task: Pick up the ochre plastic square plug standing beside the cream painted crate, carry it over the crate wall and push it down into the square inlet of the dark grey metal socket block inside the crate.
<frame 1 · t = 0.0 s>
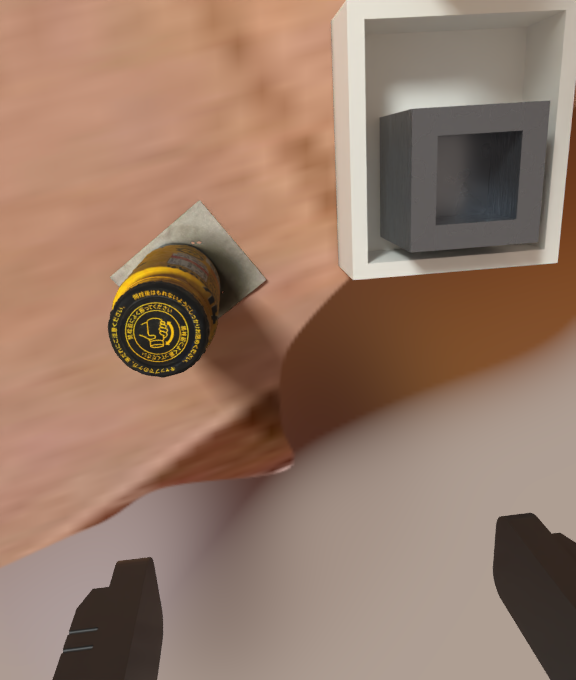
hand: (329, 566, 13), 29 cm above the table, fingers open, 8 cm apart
crate: (433, 145, 38), on the table
socket: (435, 175, 38), resting on crate
condiment: (189, 277, 40), on the table
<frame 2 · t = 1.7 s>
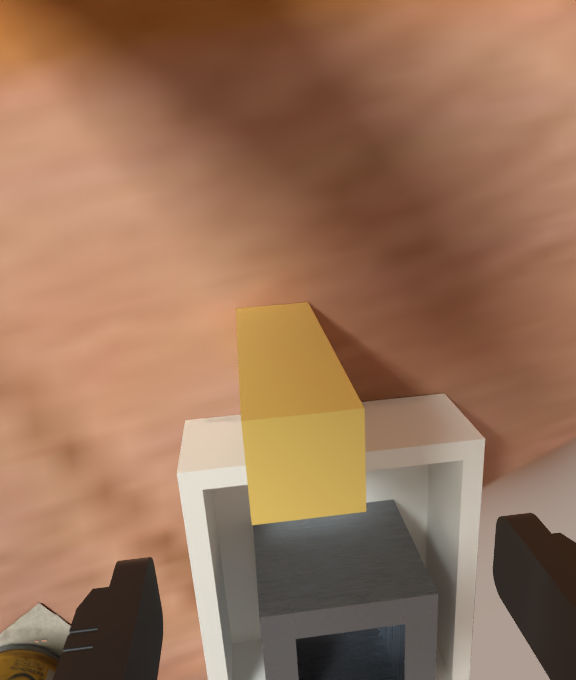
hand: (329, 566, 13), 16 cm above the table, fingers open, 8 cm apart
crate: (323, 530, 32), on the table
socket: (326, 565, 32), resting on crate
condiment: (37, 670, 33), on the table
plug: (274, 339, 28), on the table
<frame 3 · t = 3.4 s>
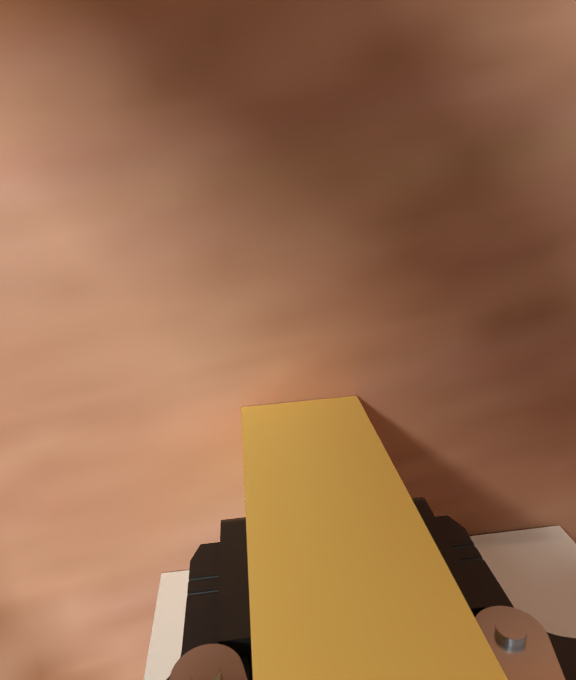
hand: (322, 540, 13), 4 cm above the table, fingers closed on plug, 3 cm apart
plug: (302, 452, 17), on the table, touching gripper
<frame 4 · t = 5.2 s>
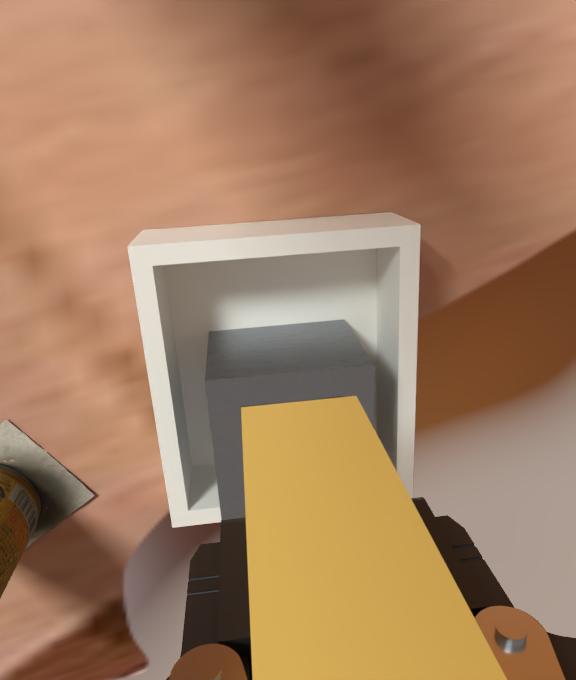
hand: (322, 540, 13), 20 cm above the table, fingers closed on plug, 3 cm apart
crate: (278, 353, 33), on the table
socket: (281, 386, 33), resting on crate
condiment: (6, 493, 35), on the table
plug: (302, 452, 17), point 16 cm above the table, touching gripper
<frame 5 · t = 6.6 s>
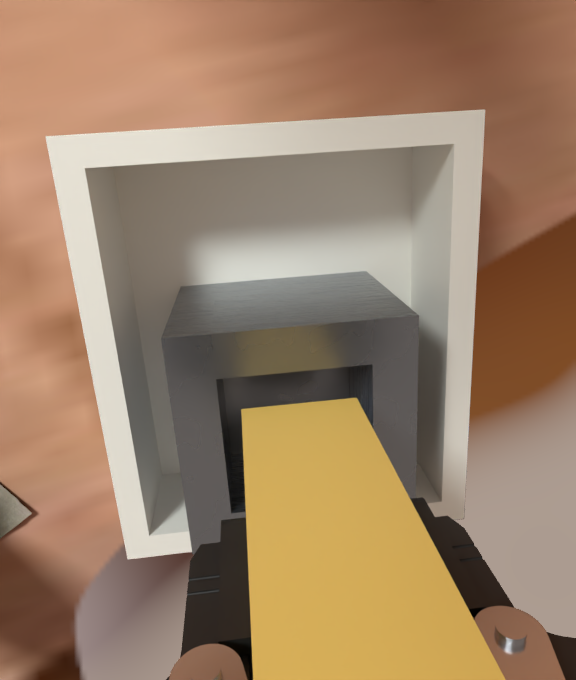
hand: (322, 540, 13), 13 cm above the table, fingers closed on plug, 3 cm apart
crate: (276, 319, 25), on the table
socket: (280, 365, 25), resting on crate
plug: (302, 454, 17), point 8 cm above the table, touching gripper
when the fingers open (10 cm above the table, at t = 7.3 s): plug drops 2 cm, resting on socket.
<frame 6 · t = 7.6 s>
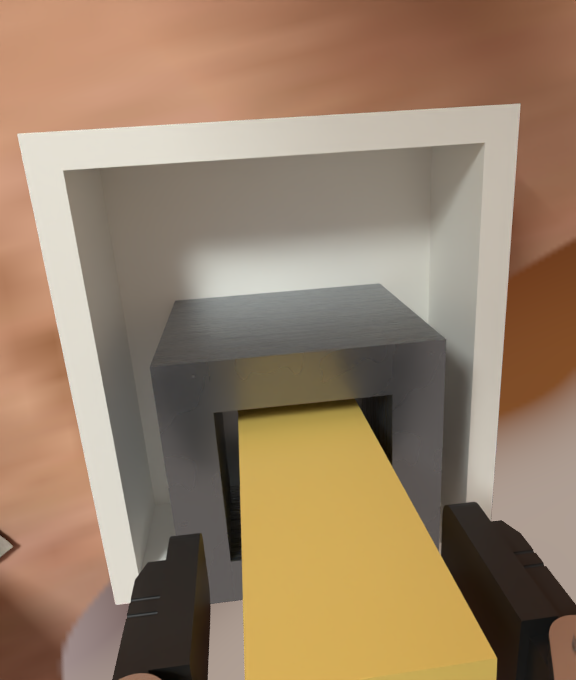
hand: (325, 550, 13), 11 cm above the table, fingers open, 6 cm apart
crate: (280, 335, 22), on the table
socket: (285, 386, 22), resting on crate
plug: (292, 422, 20), point 4 cm above the table, touching socket
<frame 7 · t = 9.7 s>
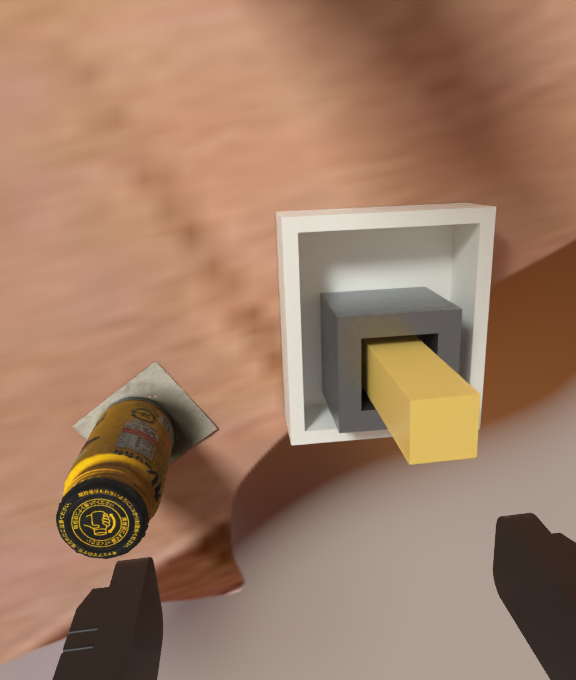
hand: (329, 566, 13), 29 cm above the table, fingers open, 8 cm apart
crate: (370, 313, 42), on the table
socket: (372, 340, 42), resting on crate
condiment: (146, 424, 43), on the table
plug: (382, 354, 39), point 4 cm above the table, touching socket
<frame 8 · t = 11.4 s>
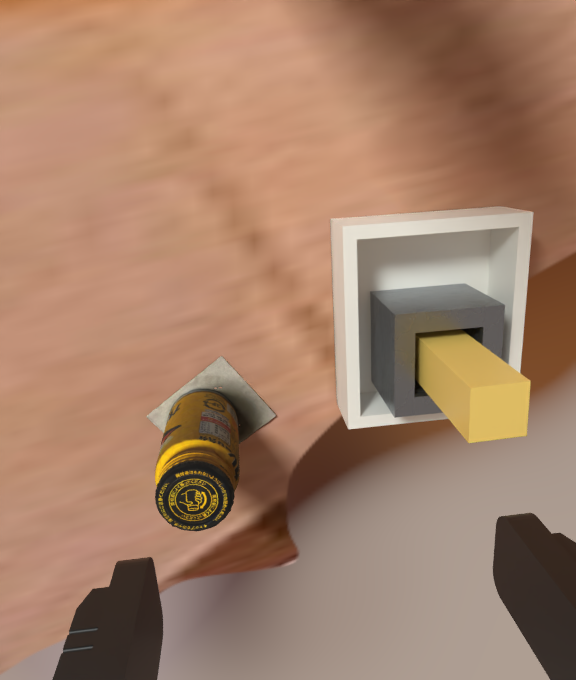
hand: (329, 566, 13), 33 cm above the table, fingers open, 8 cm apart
crate: (415, 308, 46), on the table
socket: (417, 333, 46), resting on crate
condiment: (212, 413, 48), on the table
plug: (428, 345, 43), point 4 cm above the table, touching socket
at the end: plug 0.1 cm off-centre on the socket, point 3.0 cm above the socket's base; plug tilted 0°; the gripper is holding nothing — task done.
